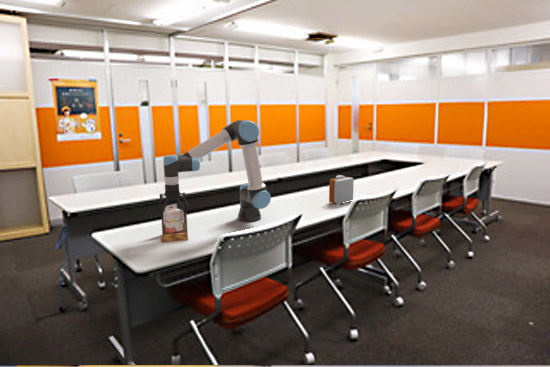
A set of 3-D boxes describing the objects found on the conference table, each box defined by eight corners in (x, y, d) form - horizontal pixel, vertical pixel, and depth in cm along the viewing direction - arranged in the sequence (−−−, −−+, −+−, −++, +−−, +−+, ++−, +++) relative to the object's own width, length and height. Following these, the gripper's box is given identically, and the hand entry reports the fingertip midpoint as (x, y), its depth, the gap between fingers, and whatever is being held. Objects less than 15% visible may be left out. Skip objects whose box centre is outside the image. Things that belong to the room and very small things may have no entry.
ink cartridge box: (170, 233, 215) (169, 207, 212) (165, 231, 218) (163, 206, 215) (183, 229, 221) (182, 204, 218) (178, 228, 224) (176, 203, 222)
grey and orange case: (344, 199, 307) (345, 173, 303) (353, 201, 301) (354, 175, 297) (328, 203, 296) (329, 176, 292) (337, 205, 289) (338, 178, 285)
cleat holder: (187, 232, 228) (186, 212, 226) (187, 240, 216) (186, 219, 213) (162, 234, 225) (161, 214, 223) (161, 242, 212) (160, 221, 210)
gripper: (192, 181, 220) (193, 219, 225) (151, 183, 216) (153, 222, 220) (192, 183, 213) (194, 223, 218) (150, 185, 208) (152, 226, 213)
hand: (174, 222), depth 219 cm, fingers closed on ink cartridge box, 9 cm apart
